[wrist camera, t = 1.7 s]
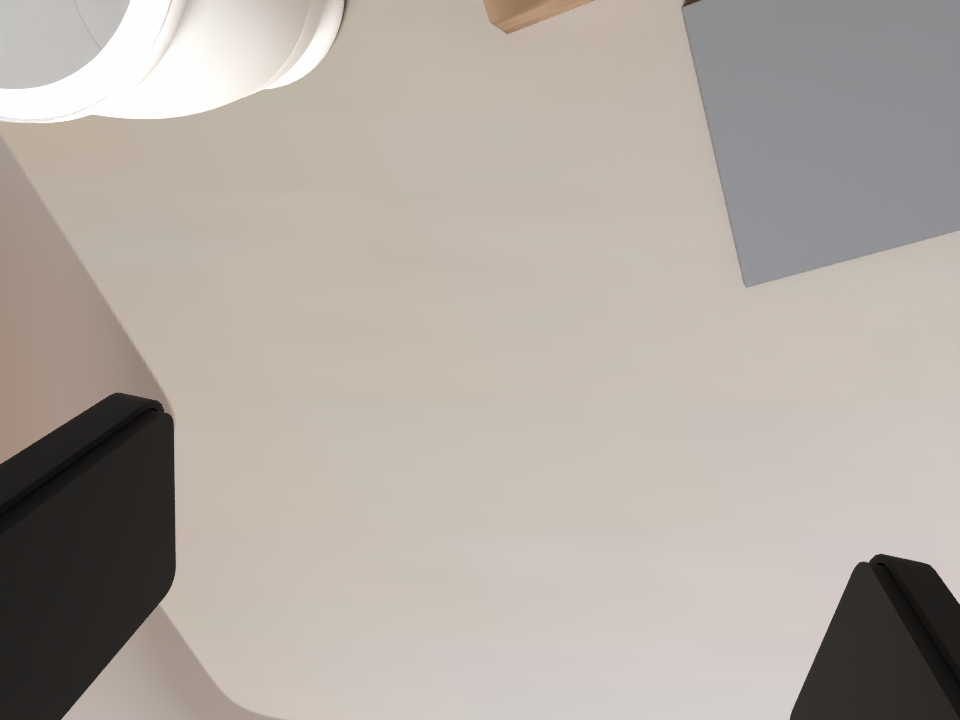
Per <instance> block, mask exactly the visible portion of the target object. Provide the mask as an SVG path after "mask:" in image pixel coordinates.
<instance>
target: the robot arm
mask: <svg viewBox="0 0 960 720" xmlns="http://www.w3.org/2000/svg"><path fill="white" fill-rule="evenodd" d="M175 570H176V553H175V483H174V424H173V419H172V417H171V415H169V414H168V413H164V409H163V407H162V404H161V403H159V402H158V401H156V400H152V399H147V398H142V397H138V396H133V395H128V394H123V393H114V394H112V395H110V396H108V397H106V398H105V399H103V400H102V401H100V402H99V403H97V404H95V405H94V406H92V407H91V408H89V409H88V410H86V411H84V412H83V413H81V414H80V415H78V416H77V417H75V418H73V419H72V420H70V421H68V422H67V423H65V424H64V425H62V426H60V427H59V428H57V429H56V430H54V431H53V432H51V433H49V434H48V435H46V436H45V437H43V438H41V439H40V440H38V441H37V442H35V443H34V444H32V445H30V446H29V447H27V448H26V449H24V450H22V451H21V452H19V453H18V454H16V455H15V456H13V457H11V458H10V459H8V460H7V461H5V462H4V463H2V464H0V720H61V719H62V718H63V717H64V715H65V714H66V713H67V712H68V711H69V710H70V708H71V707H72V706H73V705H74V704H75V702H76V701H77V700H78V699H79V698H80V696H81V695H82V694H83V693H84V692H85V691H86V689H87V688H88V687H89V686H90V685H91V683H92V682H93V681H94V680H95V679H96V678H97V676H98V675H99V674H100V673H101V672H102V670H103V669H104V668H105V667H106V666H107V665H108V663H109V662H110V661H111V660H112V659H113V657H114V656H115V655H116V654H117V652H119V650H120V649H121V648H122V647H123V646H124V644H125V643H126V642H127V641H128V640H129V639H130V637H131V636H132V635H133V634H134V633H135V631H136V630H137V629H138V628H139V626H141V624H142V623H143V622H144V621H145V619H146V618H147V617H148V616H149V615H150V614H151V612H152V611H153V610H154V609H155V608H156V607H157V605H158V604H159V603H160V602H161V601H162V599H163V598H164V597H165V596H166V594H167V593H168V591H169V589H170V587H171V585H172V583H173V580H174V576H175ZM790 720H960V604H959V603H958V602H957V600H956V599H955V597H954V596H953V595H952V593H951V592H950V590H949V589H948V588H947V586H946V585H945V583H944V582H943V581H942V579H941V578H940V577H939V575H938V574H937V572H936V571H935V570H934V569H933V568H932V567H931V566H930V565H928V564H925V563H922V562H917V561H912V560H908V559H903V558H898V557H893V556H889V555H884V554H879V555H875V556H874V557H873V558H872V559H871V560H870V562H869V563H867V562H860V563H859V564H858V565H856V567H855V568H854V570H853V572H852V574H851V577H850V579H849V581H848V584H847V586H846V588H845V591H844V593H843V595H842V597H841V600H840V602H839V604H838V607H837V609H836V611H835V614H834V616H833V618H832V620H831V623H830V625H829V627H828V630H827V632H826V634H825V636H824V639H823V641H822V643H821V646H820V648H819V650H818V653H817V655H816V657H815V659H814V662H813V664H812V666H811V669H810V671H809V673H808V676H807V678H806V680H805V682H804V685H803V687H802V689H801V692H800V694H799V696H798V698H797V701H796V703H795V705H794V708H793V710H792V713H791V716H790Z"/></svg>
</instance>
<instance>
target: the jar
mask: <svg viewBox="0 0 960 720" xmlns="http://www.w3.org/2000/svg"><path fill="white" fill-rule="evenodd" d="M343 9H344V0H0V121H6V122H16V123H50V122H60V121H67V120H73V119H77V118H81V117H84V116H87V115H90V114H95V115H101V116H109V117H118V118H132V119H158V118H171V117H179V116H186V115H191V114H196V113H200V112H204V111H208V110H211V109H215V108H218V107H221V106H223V105H226V104H229V103H231V102H233V101H236V100H238V99H240V98H243V97H246V96H249V95H252V94H254V93H256V92H258V91H260V90H262V89H271V88H277V87H281V86H284V85H287V84H290V83H292V82H294V81H296V80H298V79H300V78H302V77H303V76H305V75H306V74H307V73H309V72H310V71H311V70H312V69H314V68H315V67H316V66H317V65H318V64H319V63H320V61H321V60H322V59H323V58H324V56H325V55H326V54H327V52H328V51H329V49H330V47H331V46H332V44H333V42H334V40H335V38H336V35H337V33H338V30H339V27H340V23H341V20H342V15H343Z"/></svg>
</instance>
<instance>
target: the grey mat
mask: <svg viewBox="0 0 960 720" xmlns="http://www.w3.org/2000/svg"><path fill="white" fill-rule="evenodd" d="M681 10H682V14H683V18H684V23H685V27H686V32H687V36H688V40H689V45H690V49H691V54H692V58H693V62H694V67H695V71H696V76H697V80H698V84H699V89H700V93H701V98H702V102H703V106H704V111H705V115H706V120H707V124H708V128H709V133H710V137H711V141H712V146H713V150H714V155H715V159H716V163H717V168H718V172H719V177H720V181H721V185H722V190H723V194H724V199H725V203H726V207H727V212H728V216H729V221H730V225H731V229H732V234H733V238H734V243H735V247H736V251H737V256H738V260H739V265H740V269H741V273H742V278H743V282H744V285H745V286H746V288H747V287H751V286H754V285H758V284H762V283H765V282H769V281H773V280H777V279H780V278H784V277H788V276H792V275H795V274H799V273H803V272H806V271H810V270H814V269H818V268H821V267H825V266H829V265H832V264H836V263H840V262H844V261H847V260H851V259H855V258H859V257H862V256H866V255H870V254H873V253H877V252H881V251H885V250H888V249H892V248H896V247H900V246H903V245H907V244H911V243H914V242H918V241H922V240H926V239H929V238H933V237H937V236H941V235H944V234H948V233H952V232H955V231H959V230H960V0H701V1H698V2H695V3H693V4H690V5H687V6H685V7H683V8H682V9H681Z"/></svg>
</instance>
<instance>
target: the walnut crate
mask: <svg viewBox="0 0 960 720" xmlns="http://www.w3.org/2000/svg"><path fill="white" fill-rule="evenodd" d="M483 1H484V4H485V8H486V11H487V14H488V17H489V21H490V23H492V24H493V25H495V26H496V27H498V28H499V29H501V30H502V31H504V32H505V33H507V34H509V33H511V32H514V31H517V30H519V29H522V28H524V27H527V26H529V25H532V24H534V23H537V22H540V21H542V20H545V19H547V18H550V17H552V16H555V15H558V14H560V13H563V12H565V11H568V10H570V9H573V8H575V7H578V6H581V5H583V4H586V3H588V2H591V1H593V0H483Z"/></svg>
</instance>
